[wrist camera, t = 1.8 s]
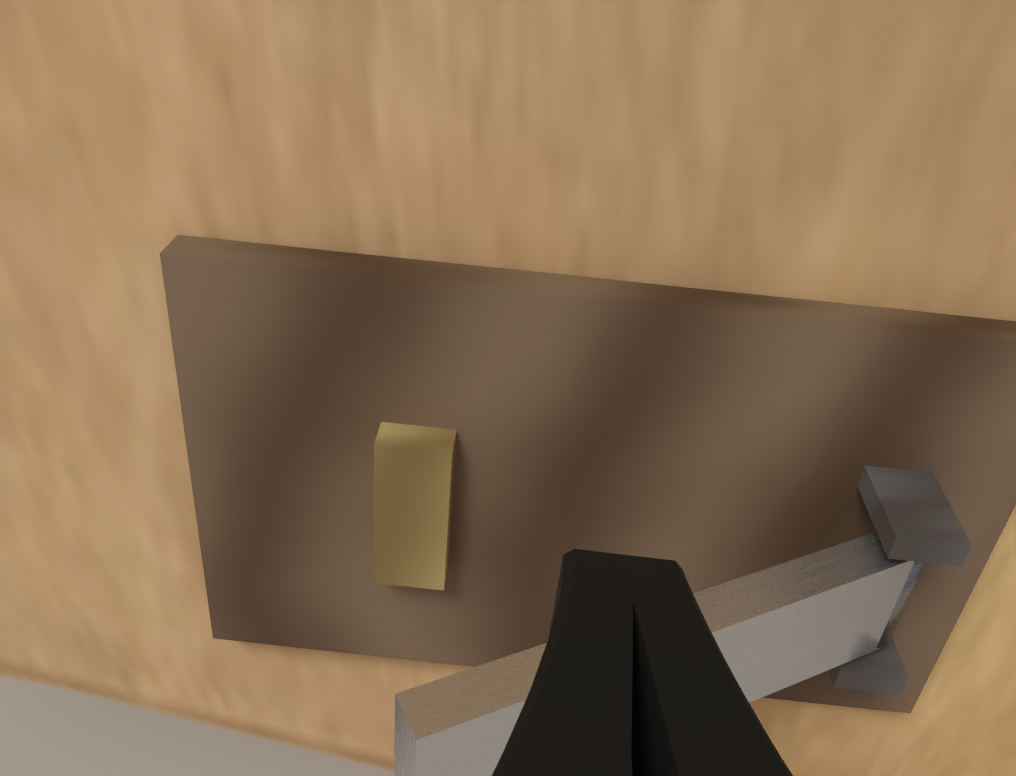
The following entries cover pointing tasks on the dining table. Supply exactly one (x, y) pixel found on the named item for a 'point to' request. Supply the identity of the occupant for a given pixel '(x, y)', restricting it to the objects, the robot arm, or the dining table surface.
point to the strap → (732, 621)
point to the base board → (566, 447)
